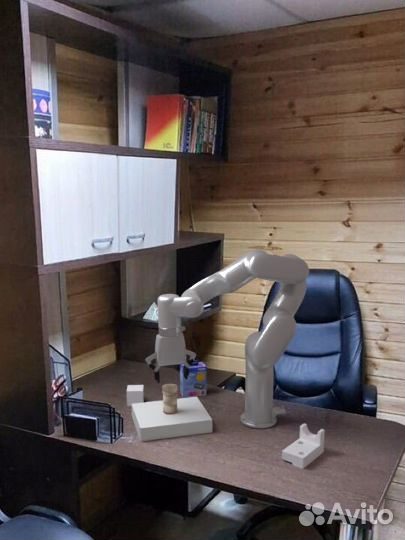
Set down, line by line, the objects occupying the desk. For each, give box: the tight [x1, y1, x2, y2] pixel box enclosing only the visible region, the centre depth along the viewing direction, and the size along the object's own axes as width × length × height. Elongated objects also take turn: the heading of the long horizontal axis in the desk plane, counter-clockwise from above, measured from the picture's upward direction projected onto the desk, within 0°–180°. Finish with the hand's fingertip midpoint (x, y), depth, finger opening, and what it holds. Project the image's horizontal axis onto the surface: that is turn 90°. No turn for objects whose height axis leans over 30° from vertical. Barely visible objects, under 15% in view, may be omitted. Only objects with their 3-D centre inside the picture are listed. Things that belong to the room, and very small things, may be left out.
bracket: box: [281, 423, 326, 470], centre depth 166 cm, size 13×7×8 cm, turn 140°
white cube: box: [126, 384, 145, 407], centre depth 205 cm, size 6×6×6 cm
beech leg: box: [161, 383, 179, 415], centre depth 187 cm, size 5×5×13 cm
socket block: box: [131, 396, 213, 442], centre depth 188 cm, size 24×20×4 cm
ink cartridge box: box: [179, 359, 208, 398], centre depth 212 cm, size 10×6×14 cm, turn 107°
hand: (171, 379), depth 186 cm, fingers open, 9 cm apart
